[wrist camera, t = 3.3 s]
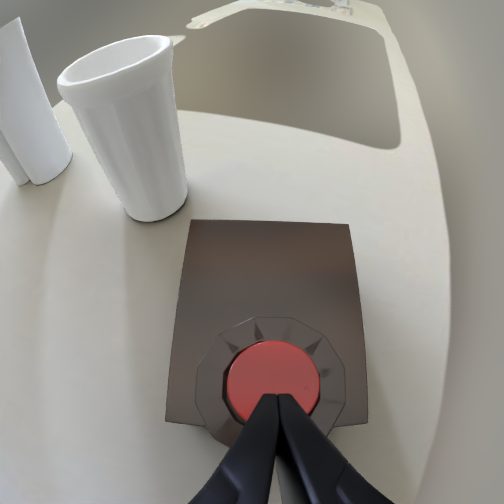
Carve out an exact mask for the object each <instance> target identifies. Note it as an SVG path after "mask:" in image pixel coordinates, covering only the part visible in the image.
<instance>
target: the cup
mask: <svg viewBox="0 0 504 504" xmlns="http://www.w3.org/2000/svg"><path fill="white" fill-rule="evenodd" d="M172 62H173V42H172V40H171V39H169V38H167V37H165V36H156V35H148V36H140V37H134V38H129V39H125V40H122V41H118V42H115V43H112V44H109V45H107V46H104V47H102V48H99V49H97V50H94V51H92V52H91V53H89V54H87V55H85V56H83V57H81V58H80V59H78V60H76V61H75V62H74V63H73V64H71V65H70V66H69V67H67V68H66V69H65V70H64V71H63V72H62V73H61V75H60V76H59V77H58V80H57V88H58V90H59V92H60V94H61V96H62V97H63V99H64V101H65V102H67V103H68V104H69V105H70V106H72V108H73V111H74V113H75V115H76V117H77V119H78V121H79V123H80V125H81V127H82V130H83V132H84V134H85V136H86V138H87V140H88V142H89V144H90V146H91V148H92V150H93V152H94V153H95V155H96V157H97V159H98V161H99V163H100V165H101V167H102V169H103V171H104V172H105V174H106V176H107V178H108V180H109V182H110V184H111V185H112V187H113V189H114V191H115V193H116V194H117V196H118V198H119V200H120V201H121V203H122V205H123V207H124V208H125V210H126V212H127V214H128V215H129V216H131V217H132V218H134V219H135V220H139V221H145V222H150V221H156V220H161V219H163V218H165V217H167V216H169V215H171V214H173V213H174V212H175V211H176V210H177V209H179V208H180V207H181V206H182V205H183V204H184V201H185V199H186V197H187V194H188V186H187V179H186V173H185V166H184V160H183V153H182V146H181V139H180V132H179V125H178V117H177V110H176V102H175V93H174V85H173V76H172Z"/></svg>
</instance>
